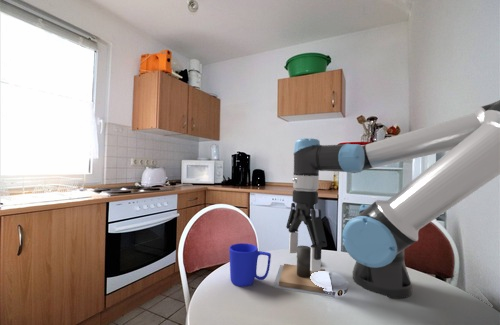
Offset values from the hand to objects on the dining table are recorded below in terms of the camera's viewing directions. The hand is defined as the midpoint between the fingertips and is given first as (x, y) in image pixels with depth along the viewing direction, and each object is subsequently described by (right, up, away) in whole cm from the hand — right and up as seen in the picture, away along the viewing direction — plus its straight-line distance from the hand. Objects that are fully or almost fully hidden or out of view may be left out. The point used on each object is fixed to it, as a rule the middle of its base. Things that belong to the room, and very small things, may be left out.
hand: (303, 260), depth 69 cm
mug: (-16, -5, -3) cm, 17 cm away
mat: (0, -6, 0) cm, 6 cm away
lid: (0, -5, 0) cm, 5 cm away
